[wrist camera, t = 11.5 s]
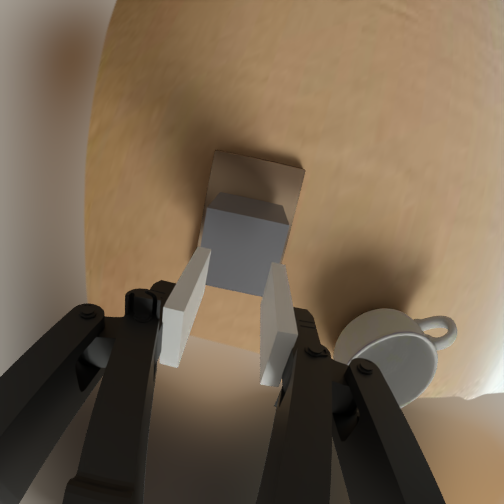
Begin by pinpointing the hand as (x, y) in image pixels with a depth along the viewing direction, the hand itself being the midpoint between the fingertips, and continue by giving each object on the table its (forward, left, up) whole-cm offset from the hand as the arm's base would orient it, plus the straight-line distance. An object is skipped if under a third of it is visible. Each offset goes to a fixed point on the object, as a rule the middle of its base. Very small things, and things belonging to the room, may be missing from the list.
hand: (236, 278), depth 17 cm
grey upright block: (0, 0, -10) cm, 10 cm away
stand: (0, 0, -13) cm, 13 cm away
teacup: (+9, +18, -13) cm, 24 cm away
